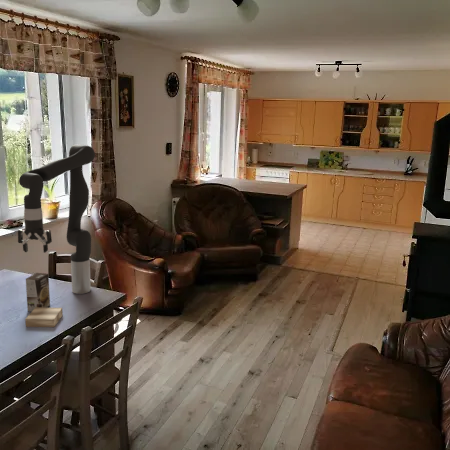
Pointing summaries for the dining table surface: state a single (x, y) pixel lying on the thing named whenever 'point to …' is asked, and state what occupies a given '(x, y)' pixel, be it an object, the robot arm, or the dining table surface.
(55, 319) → the birch block
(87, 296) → the dining table surface
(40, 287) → the coffee box
